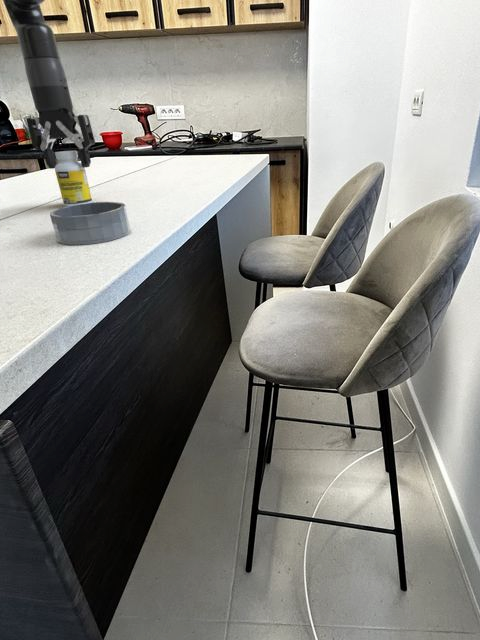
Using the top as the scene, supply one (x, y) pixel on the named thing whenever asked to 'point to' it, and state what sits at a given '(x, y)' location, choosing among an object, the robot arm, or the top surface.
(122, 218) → the dish
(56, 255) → the top surface
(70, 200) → the pill bottle
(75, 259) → the top surface
